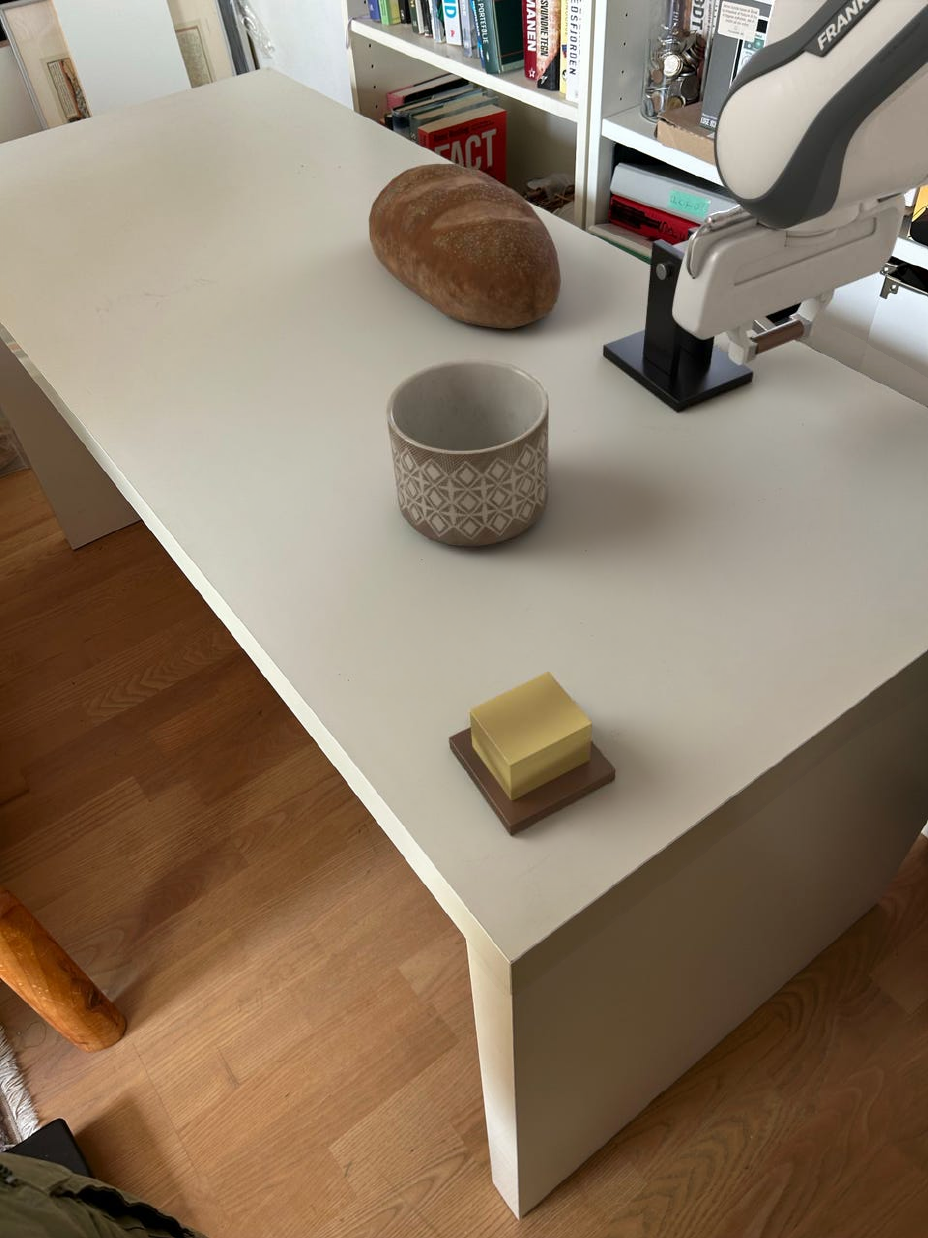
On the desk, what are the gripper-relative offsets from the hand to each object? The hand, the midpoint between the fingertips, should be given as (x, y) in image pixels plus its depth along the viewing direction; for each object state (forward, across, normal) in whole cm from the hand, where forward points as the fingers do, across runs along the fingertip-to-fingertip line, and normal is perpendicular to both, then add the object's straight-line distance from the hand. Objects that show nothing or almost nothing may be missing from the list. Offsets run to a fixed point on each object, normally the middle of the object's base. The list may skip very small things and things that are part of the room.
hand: (770, 347), depth 82 cm
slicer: (+8, 0, +12) cm, 14 cm away
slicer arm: (-1, 0, +6) cm, 6 cm away
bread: (+8, -8, +40) cm, 42 cm away
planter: (+8, -27, +5) cm, 29 cm away
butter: (+8, -37, -20) cm, 43 cm away
